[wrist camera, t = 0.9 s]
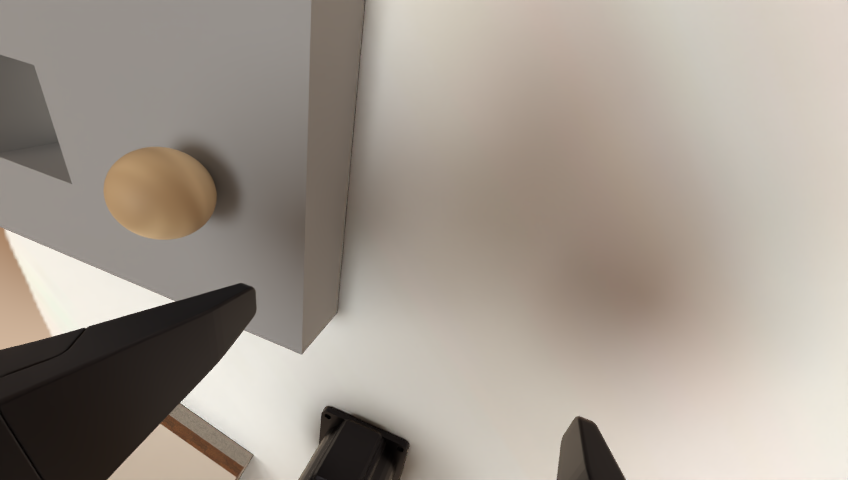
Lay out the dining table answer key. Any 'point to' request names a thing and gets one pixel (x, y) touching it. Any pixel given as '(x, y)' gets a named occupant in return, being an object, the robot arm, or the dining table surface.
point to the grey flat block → (189, 140)
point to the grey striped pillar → (184, 452)
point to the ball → (160, 193)
